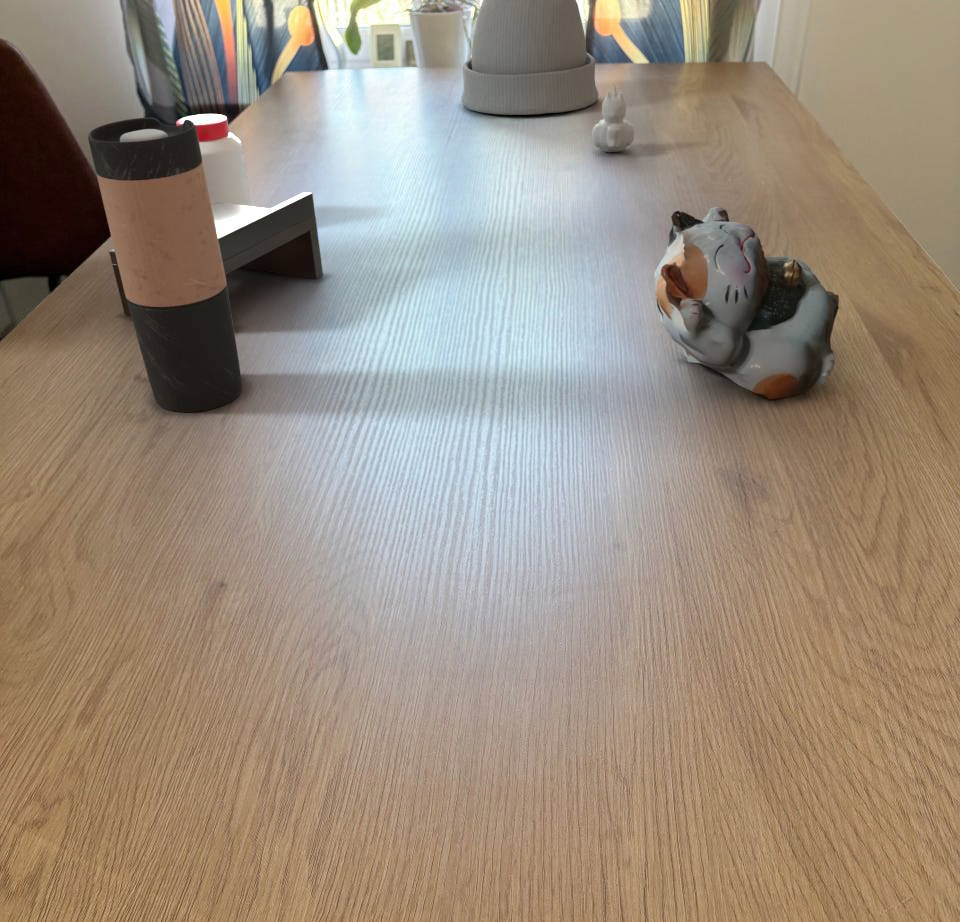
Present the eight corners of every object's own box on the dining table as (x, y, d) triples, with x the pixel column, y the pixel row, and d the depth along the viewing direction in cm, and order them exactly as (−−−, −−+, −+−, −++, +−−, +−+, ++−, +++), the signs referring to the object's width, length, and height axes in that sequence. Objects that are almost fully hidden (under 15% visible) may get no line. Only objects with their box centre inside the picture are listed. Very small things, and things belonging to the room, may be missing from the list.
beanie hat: (601, 149, 173) (611, 15, 170) (584, 106, 152) (596, -48, 149) (474, 149, 177) (481, 18, 174) (441, 107, 157) (449, -43, 153)
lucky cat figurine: (825, 413, 80) (758, 259, 72) (680, 440, 88) (604, 304, 80) (858, 289, 88) (801, 137, 80) (722, 324, 96) (657, 188, 87)
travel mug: (161, 422, 84) (94, 148, 72) (143, 385, 89) (78, 125, 77) (256, 401, 86) (207, 132, 74) (233, 366, 92) (184, 111, 79)
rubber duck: (631, 145, 144) (634, 79, 139) (635, 158, 138) (638, 90, 134) (590, 146, 144) (592, 80, 139) (592, 159, 139) (594, 91, 134)
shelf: (124, 314, 102) (103, 228, 97) (228, 260, 113) (214, 181, 108) (224, 333, 98) (207, 243, 93) (323, 275, 109) (312, 192, 104)
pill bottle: (173, 224, 124) (152, 121, 117) (231, 209, 128) (213, 108, 121) (209, 238, 119) (188, 132, 112) (267, 222, 123) (251, 118, 116)
